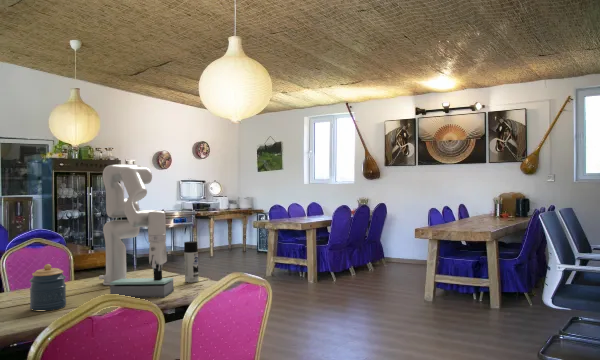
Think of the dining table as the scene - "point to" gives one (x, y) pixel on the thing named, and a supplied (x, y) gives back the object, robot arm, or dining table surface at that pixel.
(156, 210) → the robot arm
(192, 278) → the spray can
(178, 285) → the dining table surface
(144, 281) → the cover
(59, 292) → the canister
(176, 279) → the dining table surface
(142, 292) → the gray rectangular tray
